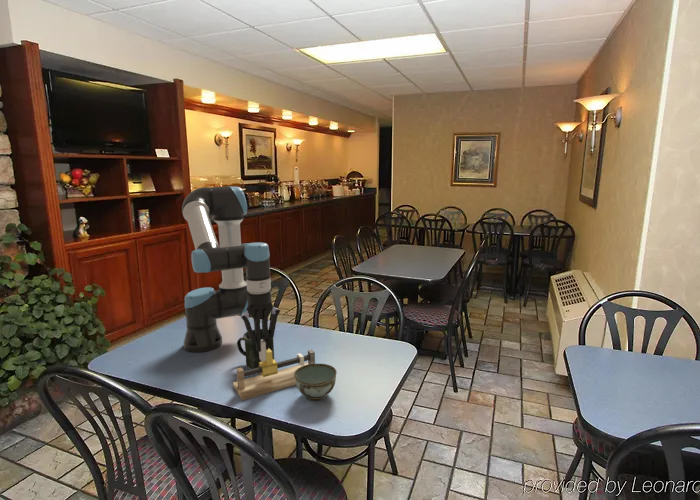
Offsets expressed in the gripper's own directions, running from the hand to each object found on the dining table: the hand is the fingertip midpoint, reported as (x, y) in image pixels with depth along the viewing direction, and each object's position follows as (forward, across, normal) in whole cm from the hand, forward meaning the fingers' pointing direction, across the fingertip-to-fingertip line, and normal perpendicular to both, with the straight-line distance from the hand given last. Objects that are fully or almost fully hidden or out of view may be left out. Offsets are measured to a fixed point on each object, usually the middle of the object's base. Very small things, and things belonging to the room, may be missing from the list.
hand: (262, 359), depth 139 cm
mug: (+10, +3, +17) cm, 20 cm away
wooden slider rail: (+9, +5, 0) cm, 11 cm away
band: (+5, +14, 0) cm, 14 cm away
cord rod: (+4, +5, 0) cm, 6 cm away
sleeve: (+5, +2, 0) cm, 6 cm away
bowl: (+10, +12, -15) cm, 22 cm away
